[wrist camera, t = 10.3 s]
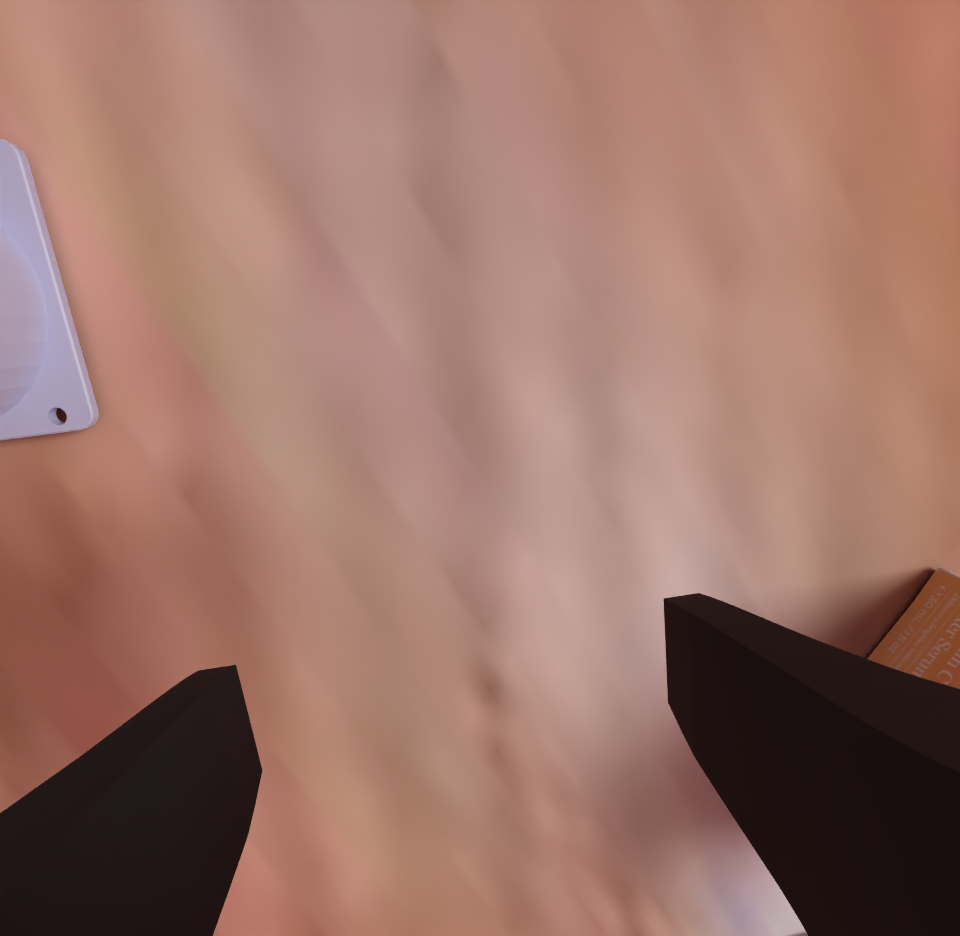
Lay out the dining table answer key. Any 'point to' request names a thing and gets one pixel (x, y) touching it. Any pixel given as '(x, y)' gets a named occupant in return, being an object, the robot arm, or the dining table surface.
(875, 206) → the dining table surface
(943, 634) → the small box
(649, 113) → the dining table surface
